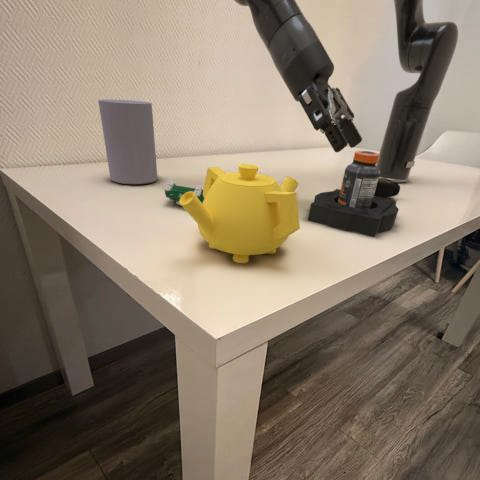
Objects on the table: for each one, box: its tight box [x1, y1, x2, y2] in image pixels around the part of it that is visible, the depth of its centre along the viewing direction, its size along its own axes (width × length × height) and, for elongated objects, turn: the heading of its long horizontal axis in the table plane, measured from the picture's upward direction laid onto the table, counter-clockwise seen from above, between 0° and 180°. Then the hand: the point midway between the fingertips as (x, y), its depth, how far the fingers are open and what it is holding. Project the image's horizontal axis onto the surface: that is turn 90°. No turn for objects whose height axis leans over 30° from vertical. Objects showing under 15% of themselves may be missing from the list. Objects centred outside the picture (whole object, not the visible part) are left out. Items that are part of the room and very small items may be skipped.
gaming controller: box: [164, 179, 204, 206], centre depth 62 cm, size 9×4×6 cm
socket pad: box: [307, 188, 400, 238], centre depth 62 cm, size 15×15×3 cm
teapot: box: [179, 163, 301, 264], centre depth 45 cm, size 20×18×11 cm
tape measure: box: [374, 178, 401, 199], centre depth 76 cm, size 7×7×4 cm
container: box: [97, 98, 158, 186], centre depth 71 cm, size 10×10×15 cm
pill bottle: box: [338, 150, 380, 209], centre depth 59 cm, size 6×6×11 cm
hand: (350, 146), depth 57 cm, fingers open, 8 cm apart
